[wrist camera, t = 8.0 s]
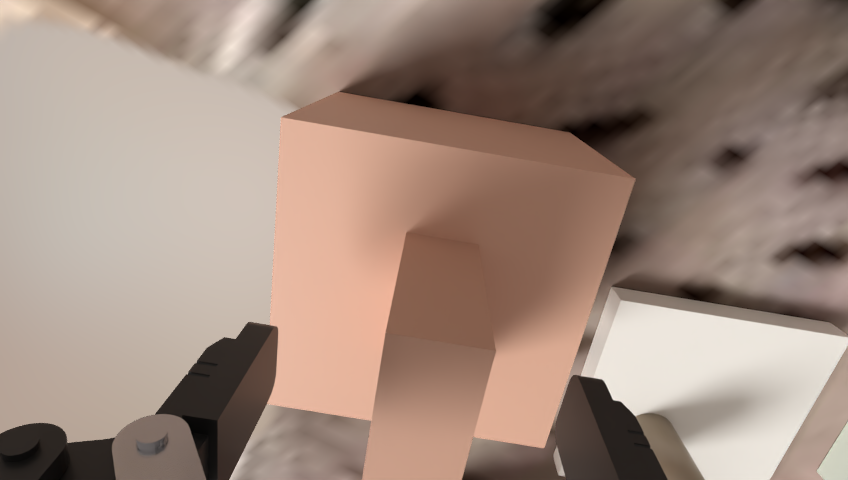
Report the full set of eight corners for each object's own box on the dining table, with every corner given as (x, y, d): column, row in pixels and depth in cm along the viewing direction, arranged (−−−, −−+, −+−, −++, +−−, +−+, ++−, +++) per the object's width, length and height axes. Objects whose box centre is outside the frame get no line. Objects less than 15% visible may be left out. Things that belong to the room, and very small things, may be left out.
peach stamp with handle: (338, 91, 23) (181, 161, 9) (569, 132, 23) (747, 258, 9) (319, 296, 27) (190, 554, 13) (515, 329, 27) (584, 614, 14)
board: (611, 286, 26) (672, 375, 19) (830, 322, 26) (970, 423, 19) (553, 455, 30) (585, 578, 23) (740, 484, 31) (827, 614, 24)
